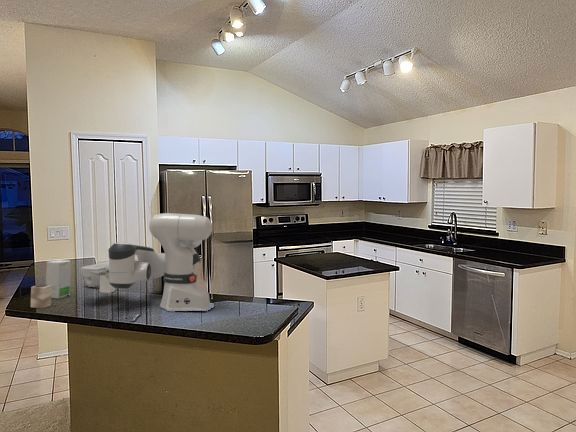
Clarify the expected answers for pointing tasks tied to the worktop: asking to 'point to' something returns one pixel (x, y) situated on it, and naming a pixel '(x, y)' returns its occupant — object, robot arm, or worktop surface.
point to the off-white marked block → (105, 285)
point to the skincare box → (59, 277)
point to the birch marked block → (41, 296)
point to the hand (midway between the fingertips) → (83, 267)
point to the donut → (92, 281)
